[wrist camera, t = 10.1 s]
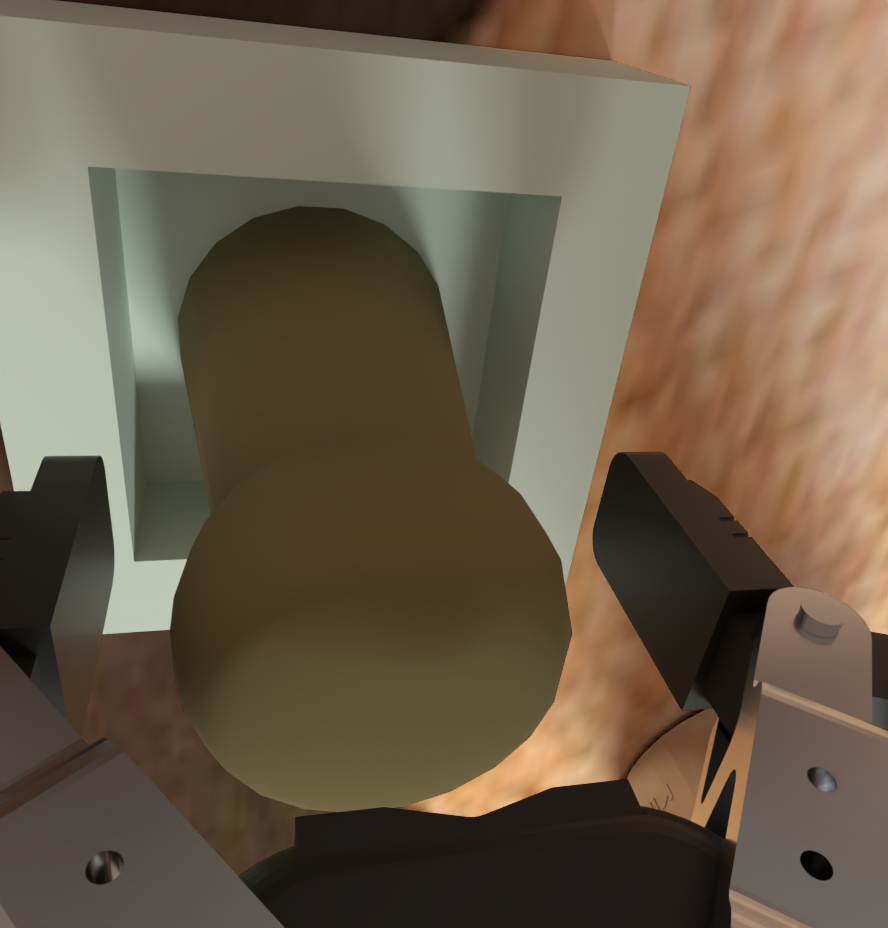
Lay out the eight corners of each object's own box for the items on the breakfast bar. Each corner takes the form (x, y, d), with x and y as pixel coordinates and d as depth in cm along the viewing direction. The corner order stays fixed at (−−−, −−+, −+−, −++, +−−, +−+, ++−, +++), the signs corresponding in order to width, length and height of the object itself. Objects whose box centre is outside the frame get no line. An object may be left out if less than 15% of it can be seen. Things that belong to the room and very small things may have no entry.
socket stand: (613, 60, 17) (690, 86, 14) (520, 520, 23) (560, 602, 20) (-21, -9, 14) (-87, 6, 11) (71, 539, 20) (44, 637, 17)
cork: (146, 221, 16) (37, 581, 7) (440, 191, 17) (670, 475, 8) (208, 469, 19) (187, 926, 11) (451, 432, 20) (621, 823, 11)
